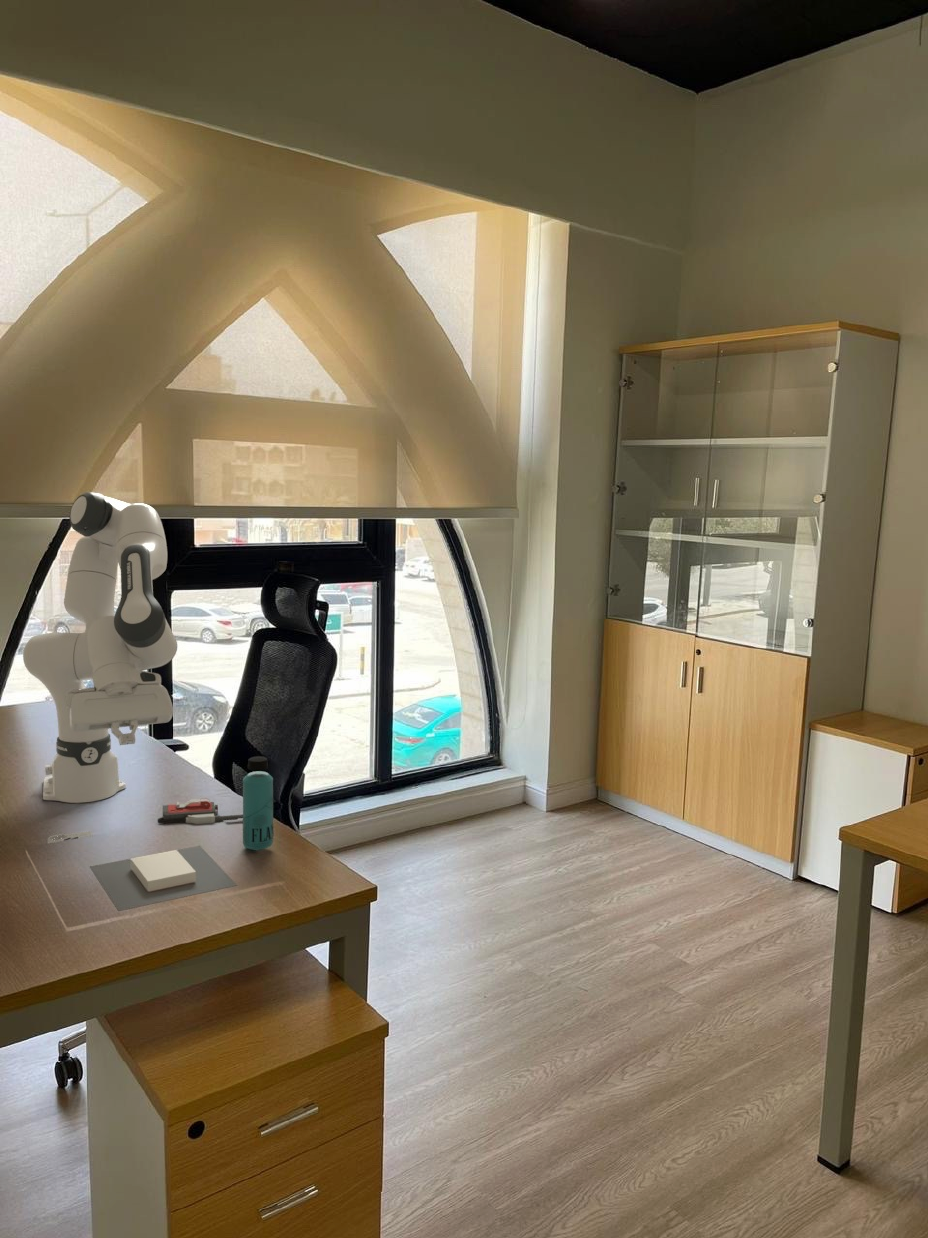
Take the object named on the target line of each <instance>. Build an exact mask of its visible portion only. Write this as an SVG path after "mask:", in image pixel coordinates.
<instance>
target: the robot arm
mask: <svg viewBox="0 0 928 1238" xmlns="http://www.w3.org/2000/svg"><path fill="white" fill-rule="evenodd" d="M69 511H70V512H69V524H70V526H71V528H72V529H73V530H74V531H75V532H76V533H78V534H79V535H81V537H80V538H79V539H78V541H77V542H76V544H75V546H74V548H73V552H72V555H71V559H70V562H69V567H68V572H67V576H66V577H67V578H66V586H65V593H64V598H63V605H64V609H65V611H66V612H67V613H68V614H69V615H70V616H71V617H73V618H74V619H76V620H77V621H80V622H82V623H84V624H85V630H84V632H55V631H54V632H47V633H42V634H36V635H33V636H31V638H30V639H28V641H27V642H26V644H25V646H24V649H23V655H22V657H23V658H22V660H23V663H24V666H25V668H26V670H27V672H28V673H29V674H30V675H32V676H33V677H34V678H36V679H37V680H39V682H41V684H43V685H44V687H45V689H47V690H48V692H49V694H50V695H51V697H52V699H53V702H54V704H55V710H56V715H57V716H56V717H57V728H58V730H57V731H58V733H57V734H58V736H57V737H56V742H55V743H56V744H55V746H56V747H55V751H56V754H55V756H54V757H53V759H52V764H46V765H45V766H44V768H45V770H44V772H45V775H46V776H45V777H43V788H42V791H43V792H42V800H44V801H58V802H63V803H72V804H73V803H75V804H77V803H90V802H97V801H101V800H105V799H107V798H110V797H112V796H113V795H115V794H116V793H117V792H119V791H122V790H124V789H126V788H127V785H126V782H123V781H122V780H120V776H119V775H120V774H119V764H118V757H117V755H116V754H115V753H113V752H112V751H111V749H112V739H111V734H110V733H109V730H110V731H111V733H112V735H114V736H115V737H116V739H118V744H119V746H126V745H135V744H136V735H135V734H136V732H137V731H138V727H139V726H144V725H145V726H146V725H155V724H165V723H167V724H168V723H169V722H170V721H171V720H172V718H173V715H174V707H173V703H172V699H171V697H170V695H169V691H168V689H167V688H166V687H165V686H164V685H162V676H161V674H159V673H158V672H157V673H156V672H151V671H146V670H153V669H157V668H158V669H159V668H161V667H164V666H165V665H167V664H169V663H170V662H171V661H172V660H173V659H174V657H175V656H176V655H177V652H178V641H177V639H176V637H175V635H174V633H173V630H172V629H171V626H170V624H169V623H168V620H167V619H166V615H165V612H164V610H163V609H162V606H161V605H160V603H159V602H158V600H157V599H156V598H155V597H154V591H153V589H154V587H153V580H156V579H158V578H159V577H160V576H162V574H163V573H164V572H165V571H166V569H167V567H168V566H167V564H168V546H167V545H168V544H167V539H166V534H165V529H164V526H163V522H162V519H161V517H160V515H159V513H158V511H157V510H156V509H155V508H153V507H152V506H150V505H149V504H146V503H142V502H141V503H140V502H138V503H135V502H134V503H129V502H127V501H123V500H122V501H121V500H119V499H116V498H114V497H109V496H104V495H103V494H102V493H98V492H91V491H88V492H83V493H82V494H81V495H78V497H76V499H74V501H73V503H72V505H71V508H70V510H69ZM118 566H119V569H120V585H121V586H120V587H121V588H120V589H121V592H120V593H121V594H120V601H119V603H118V605H117V609H116V611H115V594H116V587H117V586H116V584H117V577H118ZM83 680H85V681H92V683H93V686H94V687H86V685H85V684H84V682H83ZM125 727H126V728H127V727H129V730H130V731H131V732H128V733H127V732H126V733H123V732H122V731H121V730H120V728H125Z"/></svg>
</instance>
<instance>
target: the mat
mask: <svg viewBox="0 0 928 1238" xmlns="http://www.w3.org/2000/svg"><path fill="white" fill-rule="evenodd" d="M176 850H177V851H178V852H179V853H180V854H181V855H182V857H183V858H184V859H185V860H186V861H187V862H188V863H189V865H190V866H191V867H192V868H193V869H194V870H195V871H196V882H194V883H191V884H186V885H181V886H176V887H172V888H167V889H162V890H157V891H152V892H149V891H147V889H146V888H145V887H144V885H143V884H142V883H141V881H140V880H139V879H138V877H137V876H136V875H135V873H134V872H133V871H132V869H131V858H128V859H122V860H121V859H120V860H118V861H113V862H105V863H100V864H96V865H90V866H89V868H90V870H91V871H92V873H93V874H94V876H95V877H96V878H97V879H96V880H98V881H99V883H100V885H101V886H102V888H103V889H104V891H105V893H106V894H107V896H108V897H109V899H110V901H111V902H112V903H113V905H114V907H115V908H116V909H117V911H118V912H121V911H125V910H129V909H135V908H139V907H143V906H149V905H152V904H157V903H162V902H167V901H173V900H176V899H181V898H185V897H190V896H195V895H199V894H204V893H208V892H213V891H217V890H218V891H219V890H222V889H227V888H231V887H232V888H233V887H237V886H238V884H237V883H236V881H234V880H233V879H232V878H231V877H230V875H228V874H227V872H226V871H225V870H224V869H223V868H222V867H221V866H220V865H219V864H218V863H217V862H216V861H215V860H214V858H212V856H211V855H210V854H208V852H207V851H206V850H205V849H203V847H202V846H201V845H196V846H191V847H185V848H180V849H176Z"/></svg>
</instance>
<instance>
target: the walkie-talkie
mask: <svg viewBox="0 0 928 1238" xmlns="http://www.w3.org/2000/svg"><path fill="white" fill-rule="evenodd" d="M218 814H219V807H218V804H215V802H214V801H210V799H209V798H205V797H204V798H200V799H199V798H193V799H192V798H191V799H189V800H187V801H186V802H185V803H180V801H176V803H175V804H165V805H164V804H163V805H162V817H159V818H157V823H158V824H171V823H186V824H196V825H200V824H201V825H202V824H215V822H223V821H235V820H239V819H243V814H231V815H229V814H228V815H218Z"/></svg>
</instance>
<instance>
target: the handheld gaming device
mask: <svg viewBox="0 0 928 1238" xmlns="http://www.w3.org/2000/svg"><path fill="white" fill-rule="evenodd" d="M57 836H58V837H57ZM92 836H93V832H92V831H80V832H70V833H60V834H52V835H50V836H49V837H47V844H53V843H58V842H65V841H71V840H76V839H81V838H87V837H92ZM54 838H55V839H54ZM61 838H62V839H61ZM52 839H53V840H52ZM54 840H55V841H54Z"/></svg>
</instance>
